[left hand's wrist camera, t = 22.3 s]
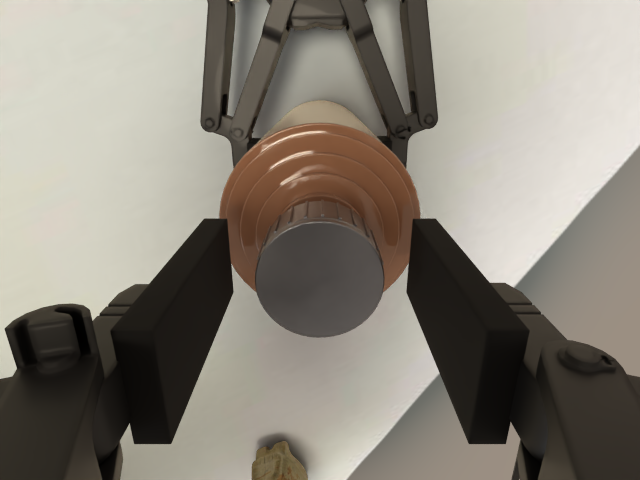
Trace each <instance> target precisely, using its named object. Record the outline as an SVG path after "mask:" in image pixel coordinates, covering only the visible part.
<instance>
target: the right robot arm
mask: <svg viewBox="0 0 640 480" xmlns="http://www.w3.org/2000/svg"><path fill="white" fill-rule="evenodd" d="M207 1H208V14H207V30H206V45H205V61H204V76H203V92H202V107H201V126H202V128H203V129H204V130H205V131H207V132H214V133H217V134H219V135H222V136H225V137H226V138H227V139H228V140H229V141H230V143H231V146H232V156H233V166H234V168H235V166H236V165H237V163H238V162H239V161H240V160H241V158H242V157H243V156H244V155H245V154H246V153H247V152H248V151H249V150H250V149H251V148H252V147H253V146H254V145H255V144H256V143H257V142H258V141H259V140H260V139H261V138H252V133H253V128H254V126H255V123H256V120H257V117H258V115H259V112H260V109H261V106H262V104H263V101H264V98H265V95H266V93H267V90H268V87H269V84H270V82H271V79H272V76H273V73H274V71H275V68H276V65H277V63H278V60H279V57H280V54H281V52H282V49H283V46H284V44H285V42H286V40H287V37H288V35H289V32H290V29H291V28H293V29H294V30H307V29H310V28H314V27H317V26H319V27H323V28H326V29H330V30H333V29H342V28H343V27H345V29H346V31H347V34H348V36H349V39H350V41H351V43H352V44H353V47H354V49H355V52H356V54H357V57H358V59H359V62H360V64H361V67H362V69H363V72H364V74H365V77H366V79H367V82H368V84H369V87H370V89H371V92H372V94H373V97H374V99H375V102H376V104H377V107H378V109H379V112H380V114H381V117H382V119H383V122H384V124H385V127H386V129H387V136H376V137H377V138H378V139H380V140H381V141H382V142H383V143H384V144H385V145H386V146H387V147H388V148H389V149H390V150H391V151H392V152H393V153H394V154H395V155H396V156H397V158H398V159H399V160H400V161H401V163H402V164H403V165H404V167H405V168H406V162H407V145H408V140H409V138H410V137H411V136H412V135H413V134H414V133H416V132H419V131H421V130H424V129H430V128H433V127H434V126H435V125H436V123H437V121H438V113H437V103H436V92H435V82H434V72H433V61H432V51H431V41H430V30H429V20H428V9H427V0H401V1H400V21H401V29H402V38H403V46H404V55H405V63H406V72H407V80H408V89H409V97H410V105H411V112H410V113H407V114H405V113H404V111H403V108H402V105H401V103H400V100H399V97H398V95H397V92H396V90H395V87H394V84H393V82H392V79H391V76H390V74H389V71H388V69H387V66H386V63H385V61H384V58H383V55H382V53H381V50H380V48H379V45H378V42H377V40H376V37H375V34H374V31H373V26H372V23H371V20H370V18H369V15H368V12H367V10H366V7H365V5H364V4H365V3H366V1H367V0H267V2H268V3H269V4H270V8H269V11H268V14H267V17H266V20H265V23H264V26H263V31H262V36H261V39H260V42H259V44H258V47H257V50H256V53H255V56H254V59H253V62H252V65H251V68H250V71H249V73H248V76H247V79H246V82H245V85H244V88H243V91H242V94H241V97H240V100H239V103H238V105H237V108H236V111H235V114H234V117H231V116H229V115H227V111H228V99H229V88H230V76H231V65H232V53H233V42H234V30H235V4H234V3H237V2H239V1H240V0H207Z"/></svg>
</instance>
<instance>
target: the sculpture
mask: <svg viewBox="0 0 640 480" xmlns="http://www.w3.org/2000/svg"><path fill="white" fill-rule="evenodd" d="M252 480H308V478H307V474H306V471H305V469H304V467H303V466H302V464H301V463H300V462H299V461H298V460H297V459H296V458H295V457H294V456H293V455H292V454H291V452H290V450H289V445H288V443H287V442H285V441H282V442H279V443H276V444H274V446H273V448H272V449H271V450H270V448H269V447H262V448H260V449H258V450H257V453H256V460H255V461H254V462H253V464H252Z"/></svg>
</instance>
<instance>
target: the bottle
mask: <svg viewBox="0 0 640 480" xmlns="http://www.w3.org/2000/svg"><path fill="white" fill-rule="evenodd" d="M321 200H324V201H328V202H333V203H337V202H338V203H339V204H340V205H343V206H345V207H347V208H349V209H351V208H352V209H353V210H354V212H355V213H356V214H358V215H359V216H360V217H361V218H364V219H365V222H366V224H367V226H368V227H369V229H370V230H372V231H373V233H374V236H375V239H376V242H377V245H378V248H379V251H380V254H381V257H382V259H383V262H384V265H383V269H384V277H385V278H384V289H383V292H384V291H385V290H387V289H388V288H389V287H390V286H391V285H392V284H393V283H394V282H395V281H396V280H397V279H398V277H399V276H400V275H401V274H402V272H403V271H404V269H405V268H406V266H407V265H408V263H409V257H410V245H411V233H412V221H413V219H420V207H419V200H418V196H417V192H416V189H415V186H414V184H413V181H412V179H411V177H410V175H409V173H408V172H407V170H406V168H405V167H404V165H403V164H402V163H401V161H400V160H399V159H398V158H397V156H396V155H395V154H394V153H393V152H392V151H391V150H390V149H389V148H388V147H387V146H386V145H385V144H384V143H383V142H382V141H381V140H380V139H378V138H377V137H376V136H375V135H374V134H373V133H372V132H371V131H370V130H369V129H368V128H367V127H366V126H365V125H364V124H363V123H362V122H361V121H360V120H359V119H358V118H357V117H356V116H355V115H354V114H353V113H352V112H351V111H349V110H348V109H347V108H345V107H343V106H341V105H340V104H337V103H334V102H330V101H323V100H317V101H310V102H306V103H303V104H300V105H298V106H296V107H295V108H293V109H292V110H290V111H289V112H288V113H287V114H286V115H285V116H284V117H283V118H282V119H281V120H280V121H279V122H278V123H277V124H276V125H275V126H274V127H273V128H271V129H270V130H269V131H268V132H267V133H266V134H265V135H264V136H263V137H262V138H261V139H260V140H259V141H258V142H257V143H256V144H255V145H254V146H253V147H252V148H251V149H250V150H249V151H248V152H247V153H246V154H245V155H244V156H243V157H242V158H241V160H240V161H239V162H238V163H237V165H236V166H235V168H234V169H233V171H232V173H231V174H230V176H229V178H228V181H227V183H226V185H225V188H224V191H223V195H222V198H221V204H220V212H219V219H227V221H228V233H229V245H230V257H231V263H232V265H233V267H234V268H235V270H236V272H237V273H238V274H239V275H240V276H241V278H242V279H243V280H244V281H245V282H246V283H247V284H248V285H249V286H250V287H251V288H252V289H253V290H254V291H256V287H255V271H256V267H257V263H258V260H257V257H258V254H259V251H260V248H261V245H262V243H263V240H264V239H265V237H266V234H267V232H268V229H269V226H272V225H273V224H274V222H275V221H276V220H277V218H278V216H279V215H282V214H283V213H285V212H286V211H287V210H289V209H290V208H291V206H293V207H295V206H297V205H299V204H303V203H305V201H308V202H312V201H321ZM256 292H257V291H256Z"/></svg>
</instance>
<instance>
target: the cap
mask: <svg viewBox="0 0 640 480" xmlns="http://www.w3.org/2000/svg"><path fill="white" fill-rule="evenodd" d="M257 260H258V263H257V267H256V271H255V287H256V291H257V295H258V298H259V300H260V303H261V304H262V306H263V308H264V309H265V311H266V312H267V313H268V315H269V316H270V317H271V318H272V319H273V320H274V321H275V322H277V323H278V324H279V325H280V326H282V327H284V328H285V329H287V330H289V331H291V332H294V333H296V334H300V335H303V336H308V337H331V336H336V335H340V334H343V333H346V332H348V331H350V330H352V329H354V328H356V327H357V326H359V325H360V324H362V323H363V322H364V321H365V320H366V319H368V317H369V316H370V315H371V314H372V313H373V312H374V310H375V309H376V307H377V305H378V303H379V301H380V299H381V296H382V293H383V289H384V278H385V277H384V269H383V265H384V262H383V259H382V257H381V254H380V251H379V248H378V245H377V242H376V239H375V236H374V233H373V231H372V230H370V229H369V227H368V226H367V224H366V222H365V219H364V218H361V217H360V216H359V215H358V214H356V213H355V212H354V210H353V209H352V208H351V209H349V208H347V207H345V206H343V205H340V204H339V203H338V202H337V203H333V202H328V201H324V200H321V201H312V202H308V201H305V203H303V204H299V205H297V206H295V207H293V206H291V208H290V209H289V210H287V211H286V212H285V213H283V214H282V215H279V216H278V218H277V220H276V221H275V222H274V224H273V225H272V226H269V229H268V232H267V234H266V237H265V239H264V240H263V243H262V245H261V248H260V251H259V254H258V257H257Z"/></svg>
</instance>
